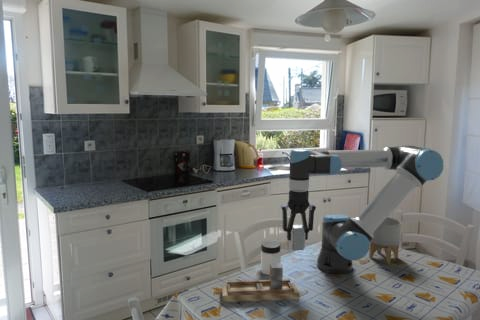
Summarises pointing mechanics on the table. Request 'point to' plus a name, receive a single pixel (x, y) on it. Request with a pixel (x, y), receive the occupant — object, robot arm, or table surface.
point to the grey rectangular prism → (298, 237)
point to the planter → (386, 238)
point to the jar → (269, 255)
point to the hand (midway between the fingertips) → (297, 247)
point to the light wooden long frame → (261, 288)
